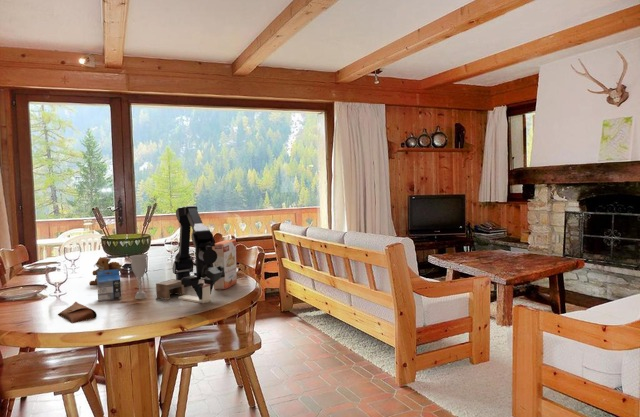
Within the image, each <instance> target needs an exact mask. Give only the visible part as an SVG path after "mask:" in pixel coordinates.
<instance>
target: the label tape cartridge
mask: <svg viewBox="0 0 640 417" xmlns="http://www.w3.org/2000/svg"><path fill="white" fill-rule="evenodd" d="M107 272H109V273H112V274H105V273H107ZM96 286H97V300H98V302H104V301H113V300H119V299H122V285H121V276H120V271H119V269H114V270H104V271H97V284H96Z"/></svg>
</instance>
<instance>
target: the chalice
mask: <svg viewBox="0 0 640 417" xmlns="http://www.w3.org/2000/svg"><path fill="white" fill-rule="evenodd" d="M129 258H130V268H131V270H132V273H133V275H134V276H135V277H136V278H137V279H138V281H137V283H138V286H137V287H138V291H137V292H136V294H135V296H134V300H142V299H146V298H148V296H147V293H146V292H145V291H143V290H142V289H143V288H142V287H143V285H142V283H143V282H142V278H143V277H144V275H145V273H146V270H147V267H148V266H147V258H148V254H136V255H135V254H134V255H130V256H129Z"/></svg>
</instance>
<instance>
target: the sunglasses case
mask: <svg viewBox="0 0 640 417" xmlns="http://www.w3.org/2000/svg"><path fill="white" fill-rule="evenodd" d="M57 315H58V316H60V317H63V318H64V319H66V320H68V321H70V322H71V323H72V324H77V323H79V322H84V321H85V322H86V321H89V320H90V321H91V320H94V319H96V318H97V316H98V315H97V311H95V310H94V309H91V307H90V308H89V307H87V306H85V305H84V304H81V303H79V302H77V301H75V302H74V303H72V305H69V306H68V307H66V308H65V309H64V310H62V311H60V312H59V313H57Z"/></svg>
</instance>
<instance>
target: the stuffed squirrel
mask: <svg viewBox="0 0 640 417" xmlns="http://www.w3.org/2000/svg"><path fill="white" fill-rule="evenodd" d="M110 261H111V258H109V257H108V258H107V257H104V256H103V257H101V256H100V257H99V258H98V260H97V261H96V262H95V264H94V267H97V268H96V269H95V270H93V271H92V275H93V276H95V279H94V280H90V281H89V283H88V284H89V285H91V286H92V285H93V286H94V285H97V271H104V270H114V269H119V272H120V270H122V266H123V265H122V264H120V263H119V262H116V261H112V262H110ZM105 274H112V273H109V272H107V273H105Z"/></svg>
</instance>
